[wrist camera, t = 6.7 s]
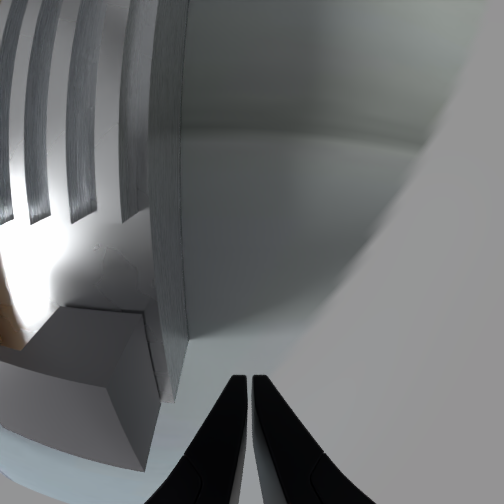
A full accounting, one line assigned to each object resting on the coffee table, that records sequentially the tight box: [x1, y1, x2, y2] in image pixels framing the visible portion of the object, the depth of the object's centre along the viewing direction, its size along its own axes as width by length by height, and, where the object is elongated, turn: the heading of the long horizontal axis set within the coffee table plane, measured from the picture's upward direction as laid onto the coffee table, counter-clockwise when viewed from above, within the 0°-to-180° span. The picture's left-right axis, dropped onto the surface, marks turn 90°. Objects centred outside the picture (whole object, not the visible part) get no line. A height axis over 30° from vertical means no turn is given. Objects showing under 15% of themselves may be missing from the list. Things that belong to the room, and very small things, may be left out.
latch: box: [0, 306, 161, 472], centre depth 7 cm, size 4×6×3 cm, turn 88°
